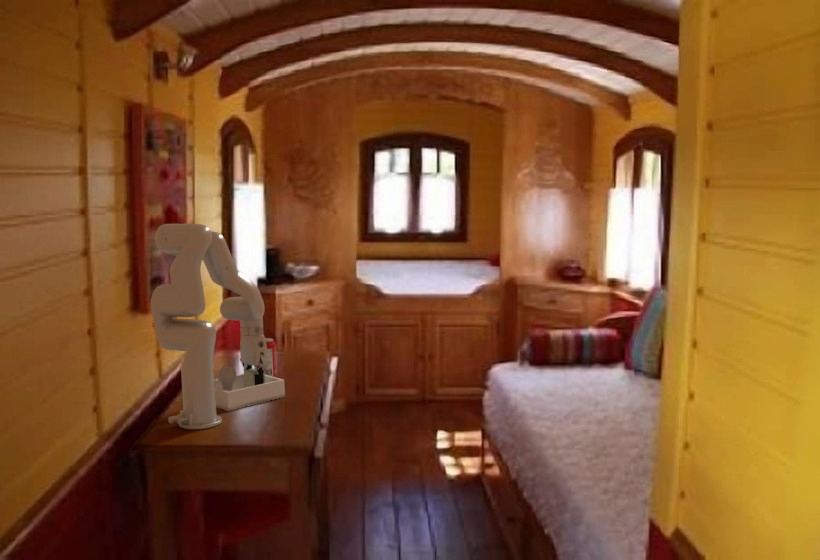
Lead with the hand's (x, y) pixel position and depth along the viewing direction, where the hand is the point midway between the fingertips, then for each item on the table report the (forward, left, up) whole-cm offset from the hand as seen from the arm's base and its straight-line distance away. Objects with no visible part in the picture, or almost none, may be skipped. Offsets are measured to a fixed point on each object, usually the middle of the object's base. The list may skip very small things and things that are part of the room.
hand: (254, 383), depth 267 cm
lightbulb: (-10, +1, -4) cm, 11 cm away
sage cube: (0, 0, -1) cm, 1 cm away
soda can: (+16, +16, -5) cm, 23 cm away
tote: (-5, 0, -4) cm, 7 cm away
